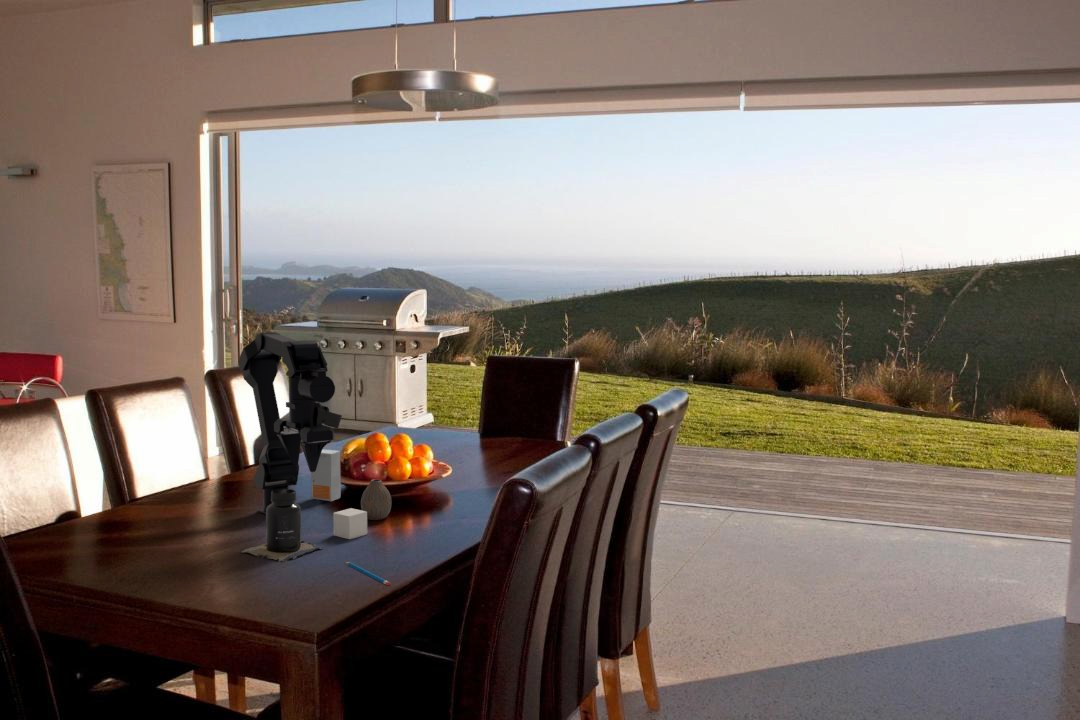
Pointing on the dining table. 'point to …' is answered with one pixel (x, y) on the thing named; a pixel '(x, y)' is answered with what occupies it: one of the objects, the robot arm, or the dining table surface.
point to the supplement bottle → (283, 522)
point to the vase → (376, 500)
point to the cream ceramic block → (350, 523)
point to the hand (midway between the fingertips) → (304, 468)
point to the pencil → (368, 573)
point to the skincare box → (326, 477)
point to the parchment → (263, 552)
